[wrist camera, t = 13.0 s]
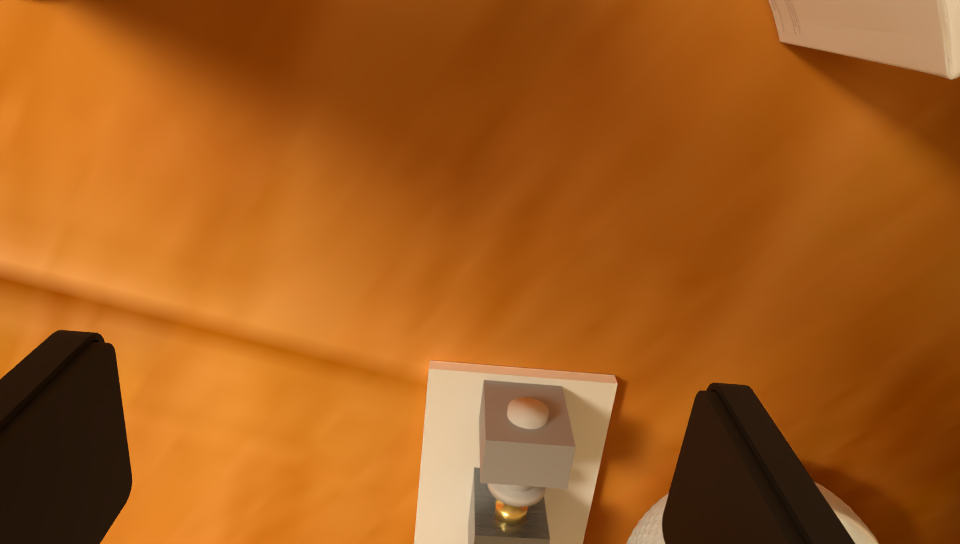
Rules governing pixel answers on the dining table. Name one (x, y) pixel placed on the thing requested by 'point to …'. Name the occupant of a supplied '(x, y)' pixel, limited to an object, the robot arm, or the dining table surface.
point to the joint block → (504, 519)
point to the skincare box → (877, 31)
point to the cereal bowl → (648, 531)
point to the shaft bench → (465, 449)
